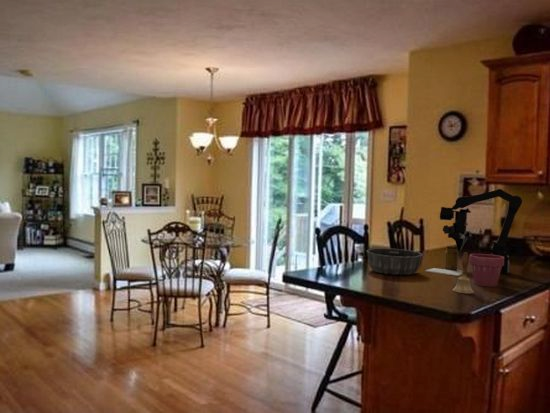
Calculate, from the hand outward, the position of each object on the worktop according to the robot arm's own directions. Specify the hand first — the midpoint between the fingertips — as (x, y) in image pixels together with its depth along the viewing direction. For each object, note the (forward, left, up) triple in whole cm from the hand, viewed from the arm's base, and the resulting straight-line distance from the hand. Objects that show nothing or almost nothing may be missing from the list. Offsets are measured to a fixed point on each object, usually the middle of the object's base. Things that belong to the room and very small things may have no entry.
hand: (459, 251), depth 273 cm
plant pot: (-24, +36, -9) cm, 44 cm away
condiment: (0, +9, -9) cm, 13 cm away
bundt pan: (+18, +39, -9) cm, 44 cm away
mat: (0, +19, -9) cm, 21 cm away
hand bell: (-22, +59, -9) cm, 63 cm away
